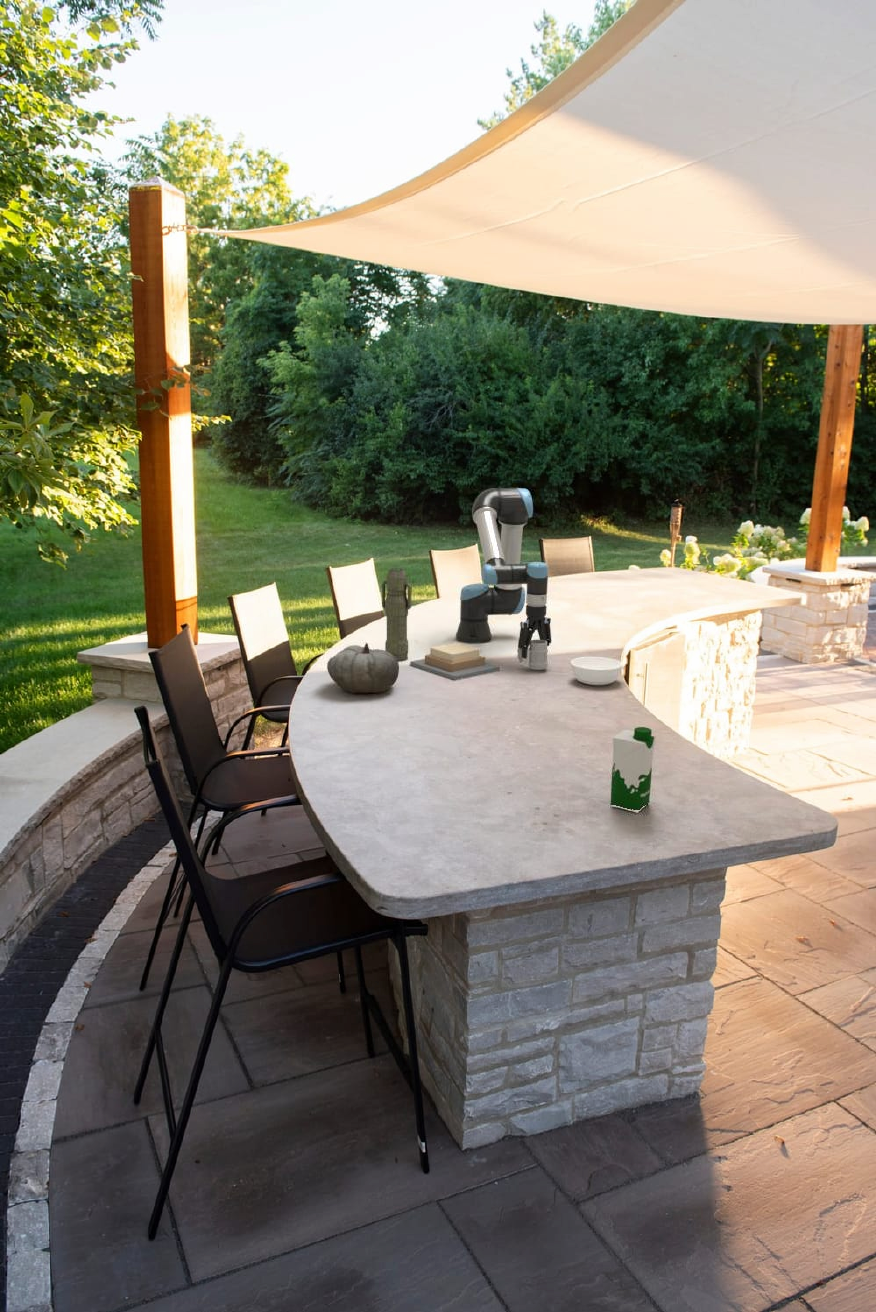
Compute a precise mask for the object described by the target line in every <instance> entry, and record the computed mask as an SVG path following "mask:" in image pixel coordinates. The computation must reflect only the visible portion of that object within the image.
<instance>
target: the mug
mask: <svg viewBox="0 0 876 1312" xmlns="http://www.w3.org/2000/svg"><path fill="white" fill-rule="evenodd" d="M528 650H530V655H529V667H528V668H529V669H531V670H537V671H540V670H541V671H542V670H546V669H547V668H548V665H549V661H548V651H549V649H548V646H547V641H544V640H540V639H531V642H530V645H529V648H528ZM517 659H518V660H519V663H522V664H523V658H522V649H520V648H518V647H517Z"/></svg>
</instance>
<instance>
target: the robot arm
mask: <svg viewBox="0 0 876 1312" xmlns="http://www.w3.org/2000/svg"><path fill="white" fill-rule="evenodd" d="M471 509H472V510H471V515H472V520H473V522H474V523H475V524H476V527H477V532H478V536H479V542H480V544H481V545H480V546H481V551H482V556H483V559H484V564H483V565H482V567H481V572H480V574H481V581H482V583H471V584H468V585H465V586H463V587H462V588H461V591H460V595H459V596H460V597H459V600H460V609H459V611H460V612H459V614H460V615H459V617H460V618H459V619H460V620H459V624H458V628H457V631H456V633H455V640H456V641H457V642H460V643H463V644H464V643H465V644H483V643H490V642H491V641H492V633H491V628H490V625H489V616H499V615H500V616H501V615H503V616H505V615H507V616H512V615H518V614H520V613H521V612H522V611H523V610H524V607H525V615H526V620H525V621H520V623H519V627H520V630H519V636H518V644H517V649H518V648H520V649H522V658H523V662H522V666H523V667H526V668H529V655H530V650H529V648H530V642H531V640H533V639H532V637H533V635H534V633H535V632H537V634H538V638H539V640H544V641H547V647H549V646H550V644H552V631H551V630H552V629H551V622H552V619H551V617H547V616H546V615H547V602H548V601H547V600H548V580H549V579H548V578H549V565H548V564H547V563H546V562H543V561H532V562H530V561H528V562H527V561H526V562H523V563H521V556H522V555H521V553H522V543H523V533H524V532H523V530H524V529H523V528H524V526H525V525H527V524H528V519H530V518H532V517H533V514H534V513H533V512H534V506H533V498H532V495H531V492H530V491H529V490H528V489H527V488H521V487H520V488H519V487H510V488H509V487H506V488H502V487H500V488H496V487H493V488H488V489H485V490H483V491H482V492H481V493H480V494H479V495H478V496H477V497H476V498H475V500H474V502H473V504H472V508H471ZM497 518H498V523H499V524H500V525H501V533H499V529H498V524H497V521H496V520H497ZM500 534H501V535H500ZM489 585H491V587H490V586H489ZM522 585H526V590H525V587H524V586H522ZM525 604H526V605H525ZM545 616H546V617H545Z"/></svg>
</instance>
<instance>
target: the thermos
mask: <svg viewBox="0 0 876 1312" xmlns="http://www.w3.org/2000/svg"><path fill="white" fill-rule="evenodd" d="M412 590H413V586H412V585H411V583H410V582H408V581H407V574H406V571H405V570H404V569H403V568H391V569H389V570H388V572H387V575H386V580H384V581H383V582H382V584H381V605H382V608H384V611H385V612H384V613H385V614H384V615H385V616H386V640H385V645H384V646H385V648H384V651H387V652H389V653H391V654H392V655H393V656H394V657H395V658H396V660H397V661H398V663H399V662H405V661H408V660H409V657H408V655H409V641H408V616H409V610H411V608H412V595H413V593H412V592H413V591H412ZM386 591H387V593H386Z"/></svg>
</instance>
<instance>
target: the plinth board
mask: <svg viewBox="0 0 876 1312" xmlns="http://www.w3.org/2000/svg"><path fill="white" fill-rule="evenodd" d="M429 651H430V652H429V654H426V655H424V658H422V659H418V660H417V659H416V660H412V661H410V662H409V666H411V667H414V668H417V669H420V670H422V671H426V672H428V671H429V672H428V673H431V672H432V674H434V673H435V674H434V675H438V676H439V677H444V678H446V679H449V678H451V679H450V680H452V679H453V681H458V680H457V679H459V680H462V679H461V678H463V679H468V678H471V677H477V676H480V675H485V674H490V673H493V672H499V671H501V669H500V668H501V666H499V665H495V664H493V663H489V662H486V657H485V656H482V655H480V649H479V648H476V647H472V646H469V645H465V644H464V643H463V644H462V643H459V642H454V643H448V644H444V645H439V646H438V645H437V646H432V647H430V650H429Z"/></svg>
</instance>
